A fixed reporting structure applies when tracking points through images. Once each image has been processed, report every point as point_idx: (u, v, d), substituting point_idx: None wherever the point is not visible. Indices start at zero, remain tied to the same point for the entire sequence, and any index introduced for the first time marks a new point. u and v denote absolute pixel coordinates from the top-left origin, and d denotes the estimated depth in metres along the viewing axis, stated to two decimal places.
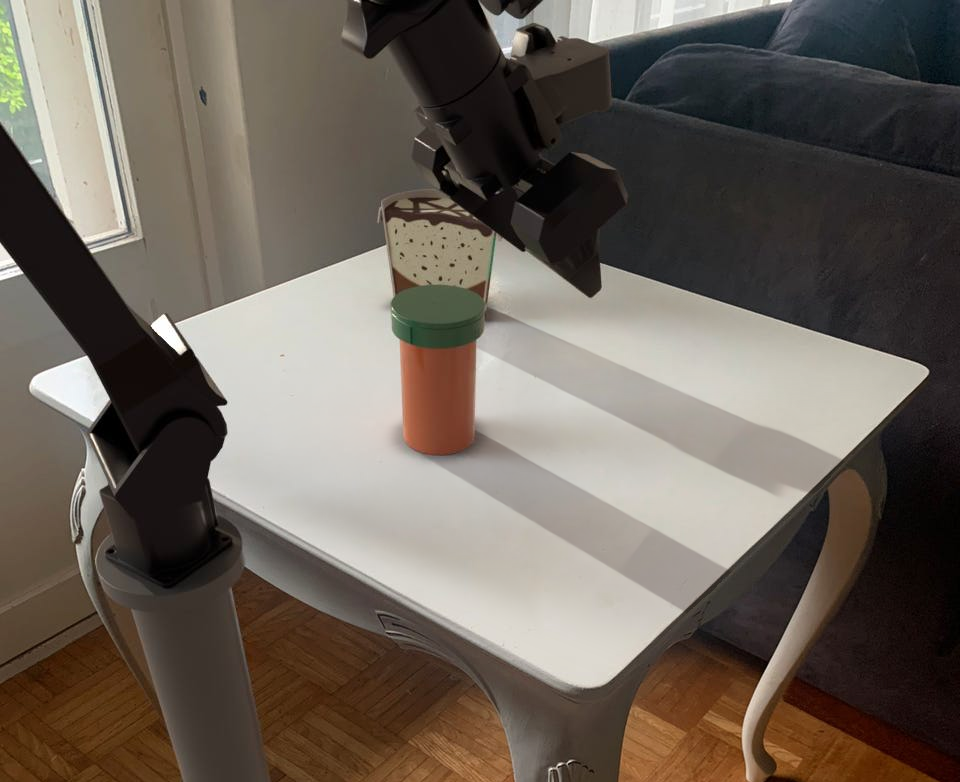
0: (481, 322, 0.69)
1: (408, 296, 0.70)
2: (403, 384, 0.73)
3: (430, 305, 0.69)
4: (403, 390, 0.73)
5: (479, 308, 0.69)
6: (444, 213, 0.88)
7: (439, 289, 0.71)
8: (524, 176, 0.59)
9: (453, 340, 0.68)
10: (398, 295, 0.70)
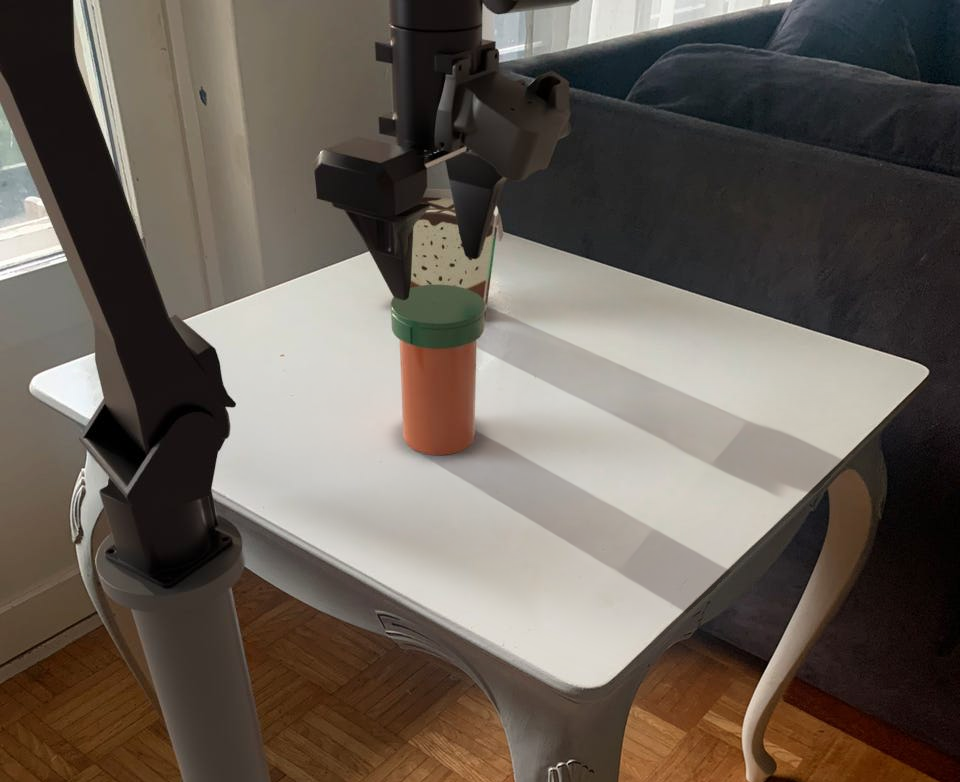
0: (481, 322, 0.69)
1: None
2: (403, 384, 0.73)
3: (430, 305, 0.69)
4: (403, 390, 0.73)
5: (479, 308, 0.69)
6: (444, 213, 0.88)
7: (439, 289, 0.71)
8: (404, 143, 0.60)
9: (453, 340, 0.68)
10: None
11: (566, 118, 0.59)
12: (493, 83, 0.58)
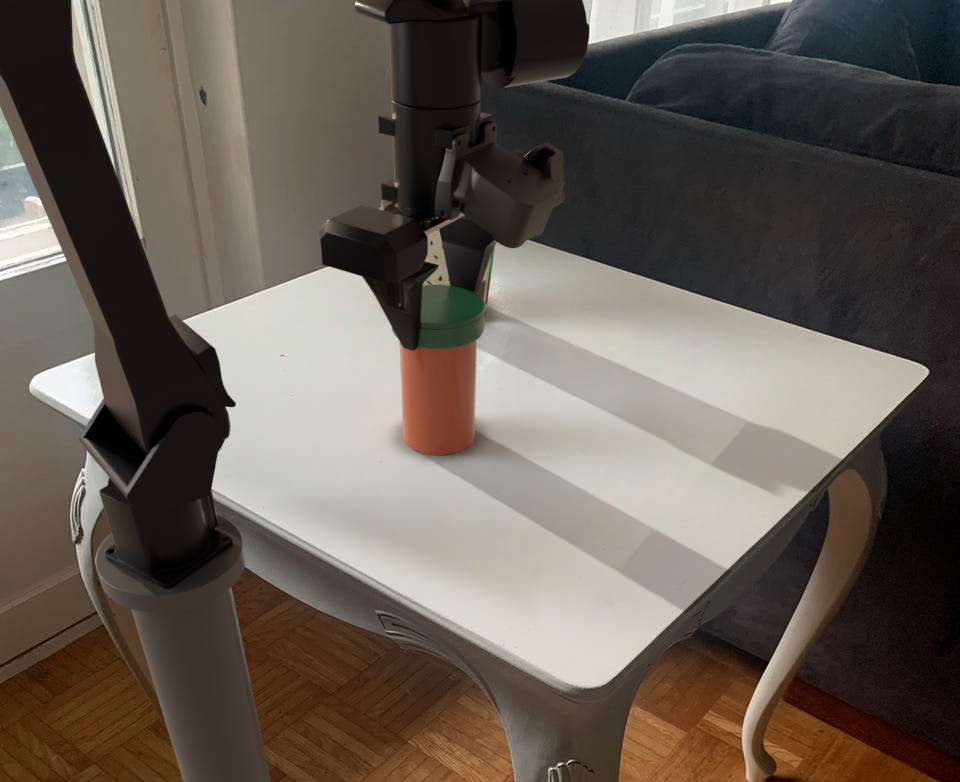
0: (481, 322, 0.69)
1: None
2: (403, 384, 0.73)
3: (430, 305, 0.69)
4: (403, 390, 0.73)
5: (479, 308, 0.69)
6: None
7: (439, 289, 0.71)
8: (405, 210, 0.63)
9: (453, 340, 0.68)
10: None
11: (560, 187, 0.62)
12: (491, 155, 0.61)
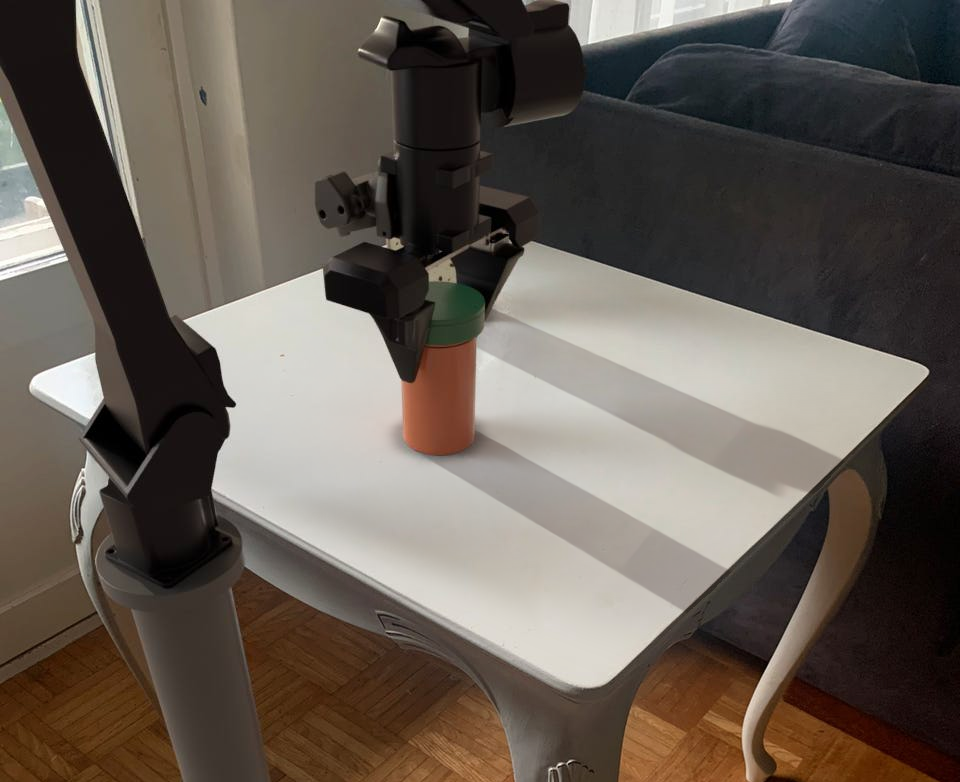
0: None
1: (467, 307, 0.68)
2: (403, 384, 0.73)
3: (445, 297, 0.70)
4: (403, 390, 0.73)
5: None
6: None
7: (435, 314, 0.68)
8: None
9: None
10: (478, 308, 0.68)
11: None
12: None
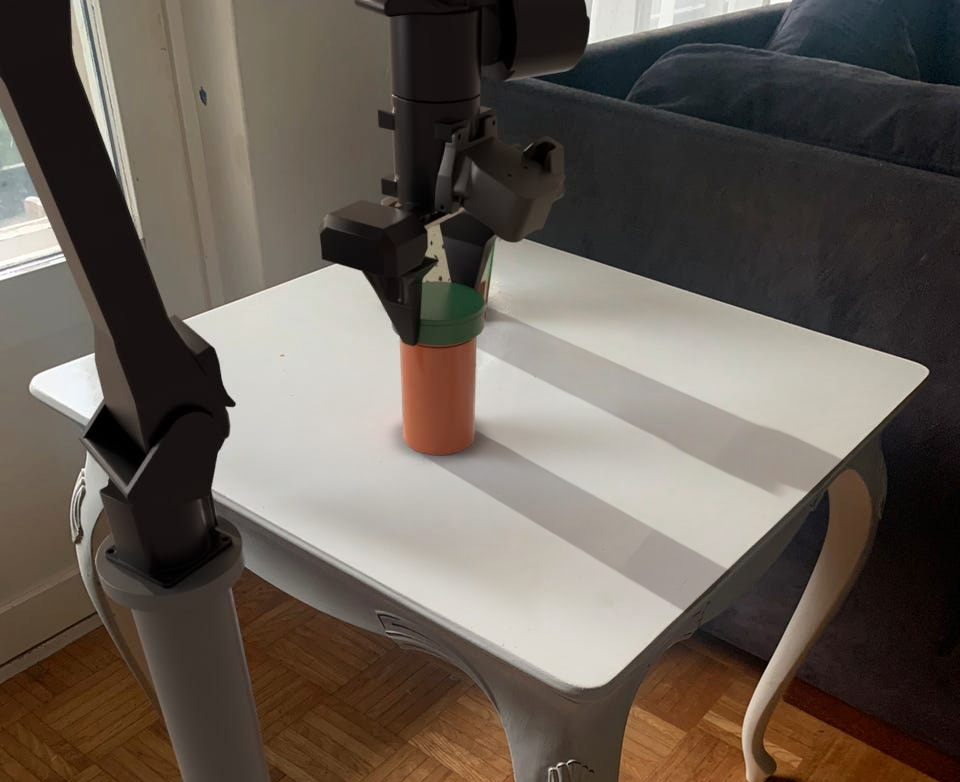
0: None
1: (467, 307, 0.68)
2: (403, 384, 0.73)
3: (445, 298, 0.70)
4: (403, 390, 0.73)
5: None
6: None
7: (435, 314, 0.68)
8: (405, 205, 0.62)
9: None
10: (477, 308, 0.68)
11: (561, 181, 0.62)
12: (491, 149, 0.61)
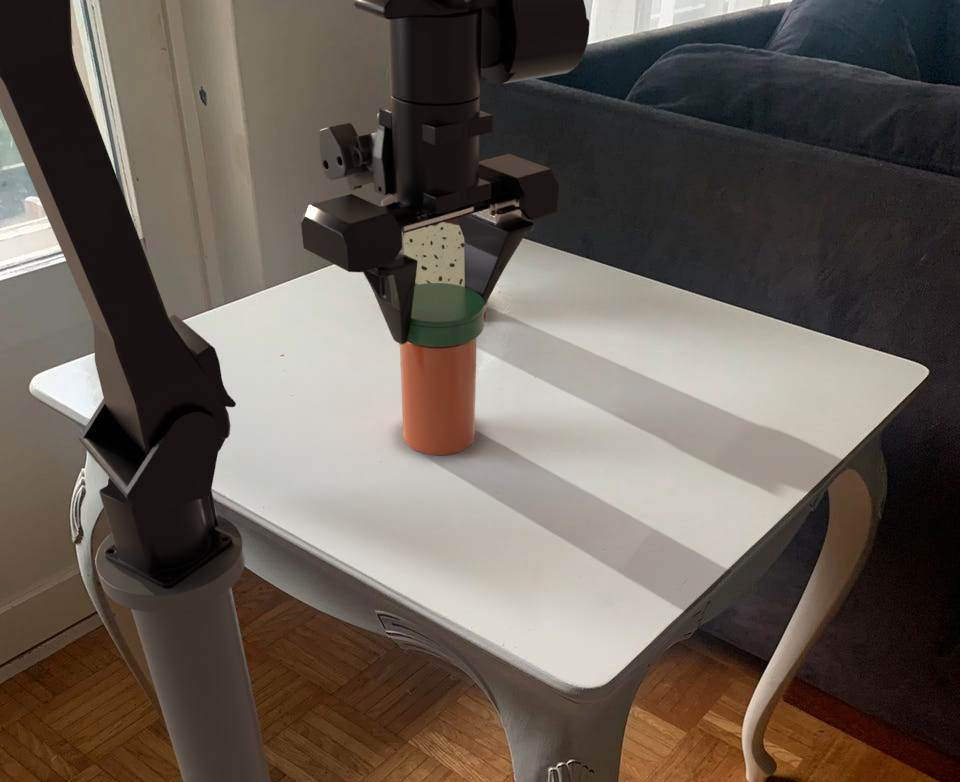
0: (474, 325, 0.68)
1: None
2: (403, 384, 0.73)
3: (428, 302, 0.69)
4: (403, 390, 0.73)
5: (474, 311, 0.68)
6: None
7: (448, 289, 0.71)
8: None
9: (439, 339, 0.68)
10: None
11: None
12: None
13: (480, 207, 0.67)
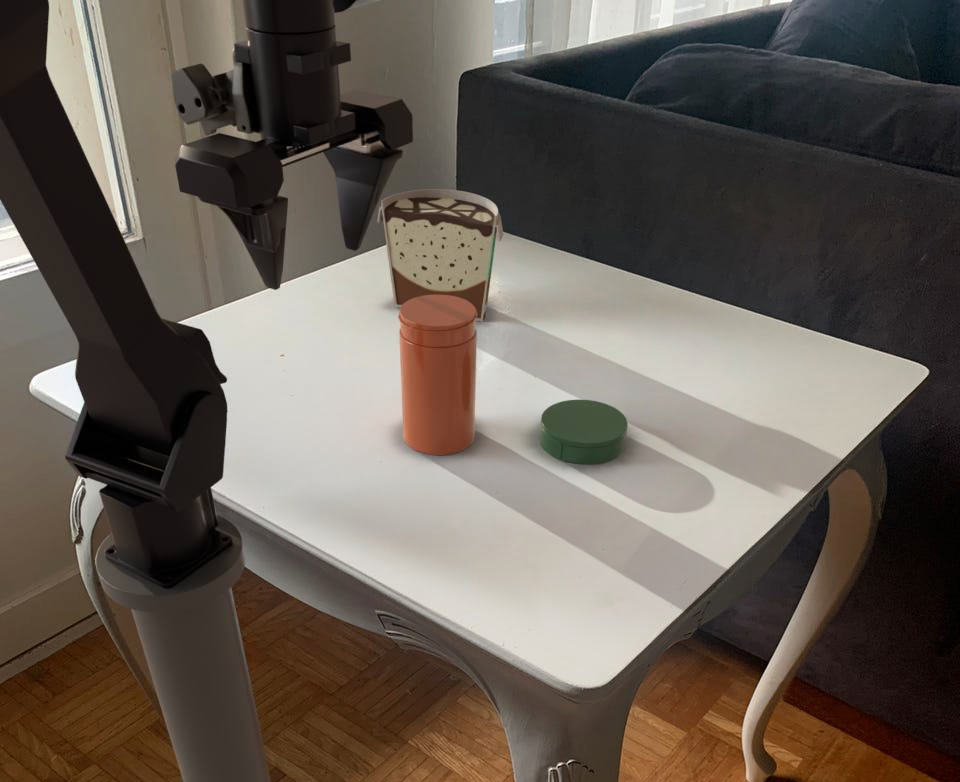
0: (624, 439, 0.75)
1: (556, 412, 0.76)
2: (403, 384, 0.73)
3: (578, 422, 0.75)
4: (403, 390, 0.73)
5: (623, 426, 0.75)
6: (444, 213, 0.88)
7: (583, 405, 0.77)
8: None
9: (600, 457, 0.74)
10: (546, 411, 0.77)
11: None
12: None
13: (341, 141, 0.68)
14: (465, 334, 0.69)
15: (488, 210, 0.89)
